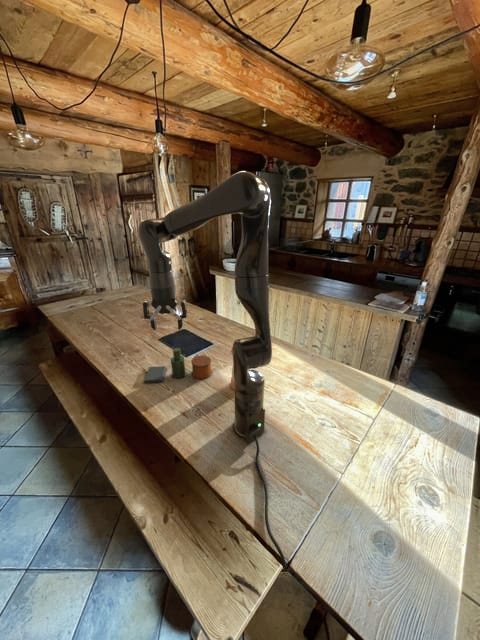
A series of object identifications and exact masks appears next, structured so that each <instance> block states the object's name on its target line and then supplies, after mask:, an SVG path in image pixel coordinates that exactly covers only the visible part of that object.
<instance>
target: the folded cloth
mask: <svg viewBox="0 0 480 640" xmlns="http://www.w3.org/2000/svg"><path fill="white" fill-rule="evenodd" d="M166 369H167V366H166V365H162V366H149V367H148V370H147V373H146V375H145V377H144V379H143V381H144V384H148V383H149V384H151V383H162V382H163V380H164V376H165V374H166V373H165V372H166Z"/></svg>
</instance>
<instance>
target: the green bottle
mask: <svg viewBox="0 0 480 640" xmlns="http://www.w3.org/2000/svg"><path fill="white" fill-rule="evenodd" d="M181 353H182V352H181V348H179V347H174V348H173V349H172V355H173V356H172V357H171V358H170V366H171V373H172V374H171V375H172V377H173V378H174V379H182V378H183V377H185V376H186V375H187V373H186V361H185V356H183V355H182V354H181Z"/></svg>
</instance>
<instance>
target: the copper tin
mask: <svg viewBox="0 0 480 640" xmlns="http://www.w3.org/2000/svg"><path fill="white" fill-rule="evenodd" d="M190 363H191V369H192V376H193V377H194V378H195V379H198V380H203V379H207V378H209V377H210V376H211V375H212V359H211V357H210V356H208V355H197V356H194V357H193V358H192V359H191V362H190Z"/></svg>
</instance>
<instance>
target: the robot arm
mask: <svg viewBox="0 0 480 640" xmlns="http://www.w3.org/2000/svg"><path fill="white" fill-rule="evenodd" d="M271 196H272V195H271V189H270V186H269V184H268V182H267V180H266V179H264V178H263V177H262V176H260V175H258V174H255V173H253V172H250V171H246V170H241V171H238V172H236V173H234V174H232V175H231V176H229V177H228V178H226V179H225V180H223V181H222V182H221V183H219V184H218V185H216V186H215V187H213V188H212V189H210V190H209V191H208V192H206V193H204V194H203V195H201V196H199V197H197V198H196V199H194V200H192V201H189V202H187V203H185V204H183V205H180V206H178V207H175V208H173V209H170V210H169V211H167V212H166V214H165V215H164V216H163V217H159V218H145V219H143V220H141V221H140V222H139V225H138V228H137V234H138V239H139V241H140V244H141V246H142V248H143V249H142V250H143V251H144V254H145V256H146V259H147V264H148V274H149V275H148V276H149V277H148V279H149V286H150V293H151V301H149V300H148V299H145V300H144V301H143V303H142V311H143V319H145V320H149V321H150V328H151V330H153V331H156V330H157V328H158V327H157V318H156V316H157V315H158V314H160V315H164V314H167V315H170V314H172V315H173V316H174V317H175V318H176V319H177V321H176V322H177V328H178V330H179V331H180V330H181V329H182V328H183V326H184V325H183V324H184V322H183V319H187V317H188V309H187V303H186V299H182V300H177V298H176V289H175V279H174V274H173V266H172V258H171V253H170V252H169V251H167V250H163V249H162V247H161V244H162V243H167V242H170V241H172V240H174V239H176V238H177V237H180V236H183V235H186V234H188V233H190V232H193V231H196V230H198V229H200V228H202V227H203V226H205V225H206V224H207V223H208V222H210V221H212V220H214V219H216V218H220V217H224V216H228V215H235V214H239V215H240V220H241V240H240V244H239V248H238V252H237V255H236V259H235V263H234V272H233V274H234V291H235V295H236V298H237V299H238V301H239V302H240V304H241V305H242V307H243V308H244V310H245V312H247V313H248V315H249V316H250V318H251V320H252V322H253V326H254V334H255V335H253V336H248V337H242V338H238V339H235V340H234V341H233V343H232V347H233V348H232V347H231V349H232V352H233V354H232V367H234V381H235V390H234V426H233V427H234V430H235V432H236V434H237V435H238V436H240V437H242V438H244V439H246V440H247V442H248V443H252V442H255V446H256V453H255V464H256V468H257V471H258V474H259V476H260V479H261V482H262V485H263V490H264V521H265V527H266V531H267V534H268V536H269V539H270V540H271V542H272V544H273V545H274V547H275V549H276V550H277V552H278V555H279V557H280V560H281V563H282V568H283V569H284V570H286V569H288V568H287V566H288V565H287V561H286V558H285V555H284V552H283V551H282V549H281V546H280V545H279V543H278V542H277V539H276V538H275V537H274V535H273V533H272V531H271V527H270V526H271V525H270V522H269V492H268V486H267V485H268V484H267V483H266V480H265V477H264V474H263V472H262V469H261V466H260V461H259V454H260V443H259V441H258V438H260V437H262V434H263V433H265V424H266V423H265V420H266V409H265V408H264V400H265V399H264V398H265V385H266V384H265V383H266V380H265V377H264V375H263V374H262V373H261V372H260V371H258V370H255V369H259V368H263V367H266V366H269V365H270V363H271V362H272V359H273V358H272V357H273V345H272V335H271V325H270V268H269V223H270V221H269V220H270V211H271V198H272V197H271ZM151 306H152V307H153V308H154V311H153V312H152V314H150V307H151ZM177 306H179V307H180V308H181V312H182V313H181V312H180V310H179V309H178V308H177ZM232 352H231V353H232Z"/></svg>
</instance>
